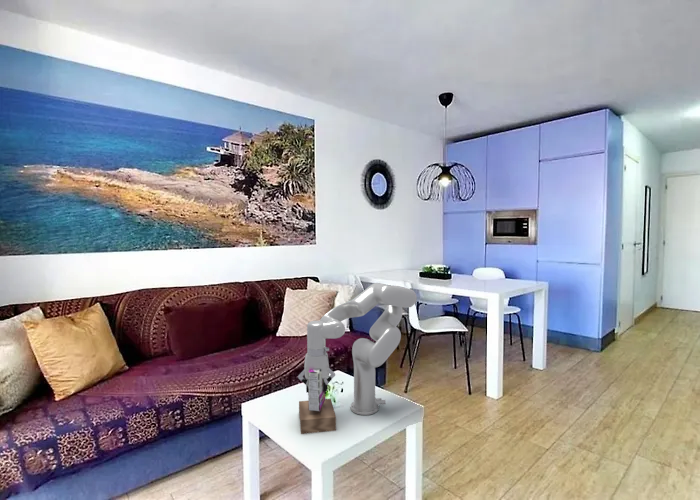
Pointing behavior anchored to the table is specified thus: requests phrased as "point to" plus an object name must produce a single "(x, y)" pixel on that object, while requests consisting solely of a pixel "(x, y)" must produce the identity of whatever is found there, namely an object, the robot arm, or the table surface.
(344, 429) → the table surface
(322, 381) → the candy bar box
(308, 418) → the walnut block
